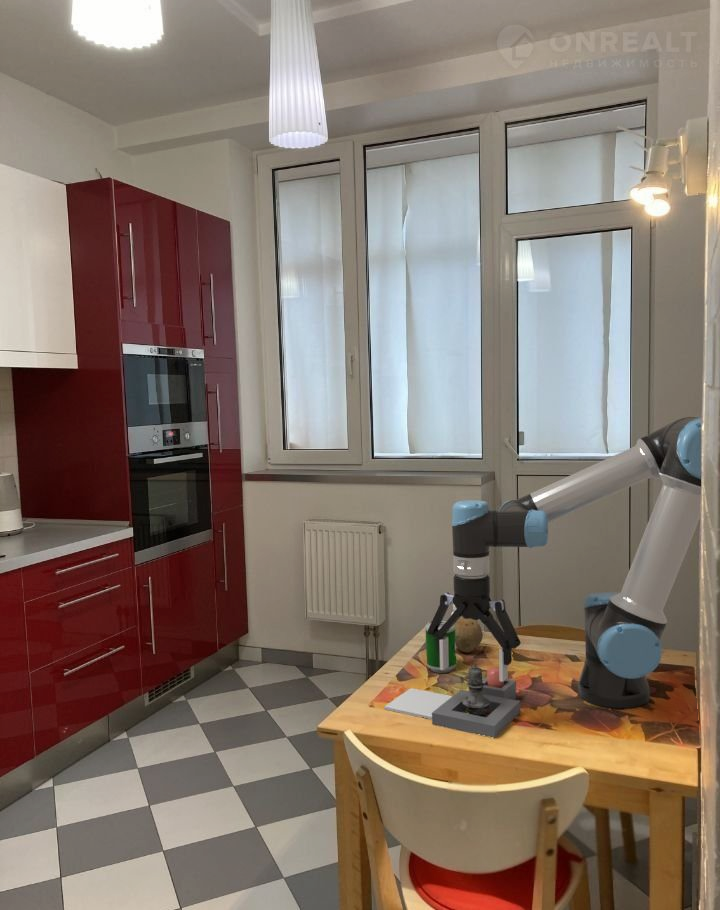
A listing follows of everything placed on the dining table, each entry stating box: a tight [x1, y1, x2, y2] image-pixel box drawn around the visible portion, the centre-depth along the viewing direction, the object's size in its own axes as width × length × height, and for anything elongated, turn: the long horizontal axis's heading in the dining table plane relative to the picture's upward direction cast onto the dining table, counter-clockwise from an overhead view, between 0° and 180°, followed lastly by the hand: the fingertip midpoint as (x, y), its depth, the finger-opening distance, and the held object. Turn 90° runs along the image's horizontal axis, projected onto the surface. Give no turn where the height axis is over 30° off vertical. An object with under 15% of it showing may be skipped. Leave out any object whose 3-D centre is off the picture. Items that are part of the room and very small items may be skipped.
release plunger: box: [486, 666, 504, 688], centre depth 167 cm, size 4×4×6 cm
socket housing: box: [431, 676, 521, 739], centre depth 161 cm, size 14×21×4 cm
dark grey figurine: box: [462, 662, 490, 717], centre depth 158 cm, size 6×6×12 cm
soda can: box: [424, 618, 457, 674], centre depth 188 cm, size 8×8×12 cm
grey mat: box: [383, 687, 453, 721], centre depth 167 cm, size 12×12×1 cm
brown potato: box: [454, 616, 484, 654], centre depth 200 cm, size 9×9×10 cm
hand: (473, 673), depth 157 cm, fingers open, 13 cm apart
